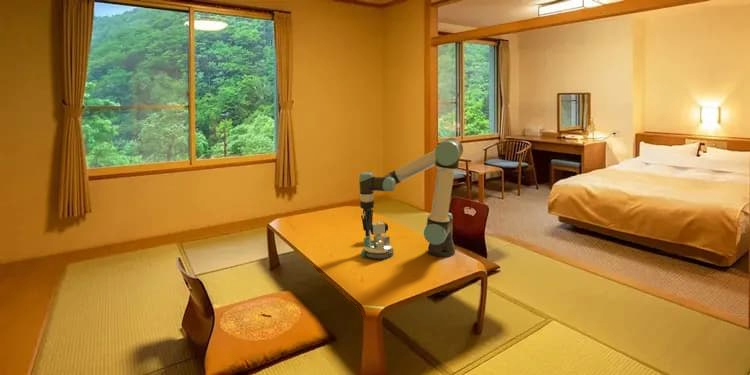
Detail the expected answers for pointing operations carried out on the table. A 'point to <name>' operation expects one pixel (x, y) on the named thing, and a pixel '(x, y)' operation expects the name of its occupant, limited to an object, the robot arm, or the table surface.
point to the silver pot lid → (376, 255)
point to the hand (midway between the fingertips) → (368, 240)
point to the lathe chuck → (377, 245)
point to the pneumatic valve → (378, 229)
